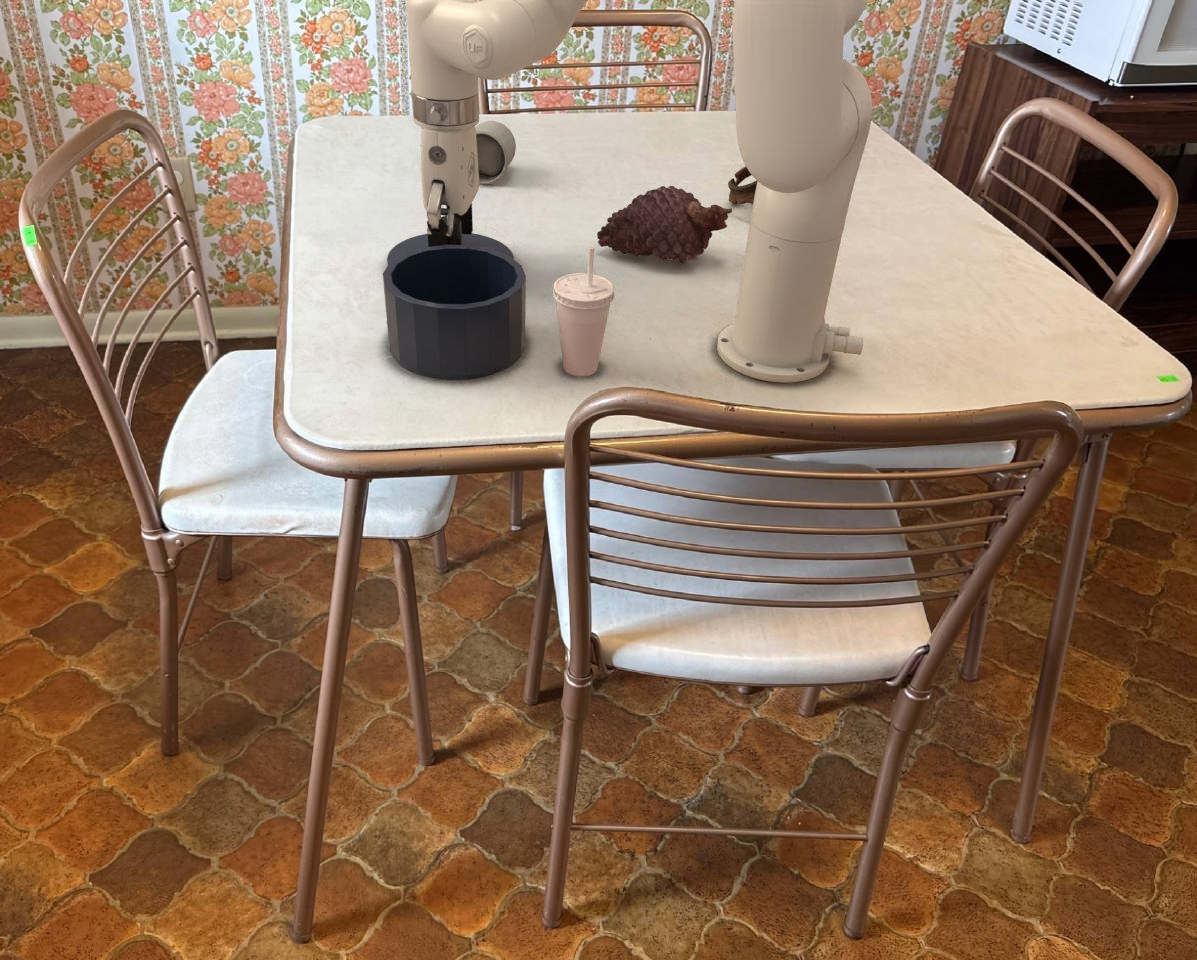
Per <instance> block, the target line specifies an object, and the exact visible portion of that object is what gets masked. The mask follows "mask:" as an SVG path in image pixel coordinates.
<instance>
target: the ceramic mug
mask: <svg viewBox="0 0 1197 960" xmlns="http://www.w3.org/2000/svg"><path fill="white" fill-rule="evenodd" d="M475 130H476V140H477V154H478V169H479V185H480V184H481V185H489V184H493V183H495V182H497V181H499V180H500V179H501V178H503V176H504V175H505V173H506V171H507V169H509V167H510V165H511V163H512V162H513V160H514V158H515V155H516V151H517V144H516V143H517V142H516V138H515V135H514V134H513V133H512V131H511V130H510V128H508V126H506V125H505V124H503V123H502V122H499V121H495V120H488V121H484V122H480V123H478V124H477V125H475Z"/></svg>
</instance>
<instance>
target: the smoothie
mask: <svg viewBox="0 0 1197 960" xmlns="http://www.w3.org/2000/svg"><path fill="white" fill-rule="evenodd" d="M594 261H595V247H594V246H588V256H587V272H586V273H585V272H575V273H574V272H573V273H568V274H565V275H562V276H560V277H558V279H556V280H555V281H554V284H553V290H552V297H553V298H554V300H555V301H556V308H557V310H556V311H557V318H558V320H557V321H558V328H559V330H558V331H559V338H560V347H561V349H560V350H561V358H562V366H563V367H562V368H563V370H564V371H565V372H566V373H567V374H570V375H572V376H575V377H589V376H591V375H593V374H595V373H596V372H597V371H598V367H599V362H600V358H601V357H600V356H601V352H602V347H603V342H604V337H605V332H606V327H607V322H608V317H609V313H610V308H611V303H612V302H614V300H615V296H616V295H615V291H616V290H615V285H614V283H613V282H612V281H610V280H609V279H608V278H606V277H605V276H601V275H598V274H594V263H595V262H594Z"/></svg>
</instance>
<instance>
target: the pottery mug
mask: <svg viewBox="0 0 1197 960" xmlns="http://www.w3.org/2000/svg"><path fill="white" fill-rule="evenodd" d="M751 176H752V175H751V173H750V172H749V171H748V169H747V167H746V165H744V166H743V167H742V168H741V169H739V170H738V171H736V172H735V173H734V177H735V178H733V177H731V179H729V181H727V182H728V183H727V186H728V188H729V194H728V202H729V203H731V205H732V206H735V205H744V204H751V205H752V206H753V203H754V197H755V192H756V186H757V182H758V181H757V180H756V179H755V181H753V182H750V183H747V184H744V185H740V184H741V183H742V182H743V181H745V180H746V179H747V178H749V177H751Z"/></svg>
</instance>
